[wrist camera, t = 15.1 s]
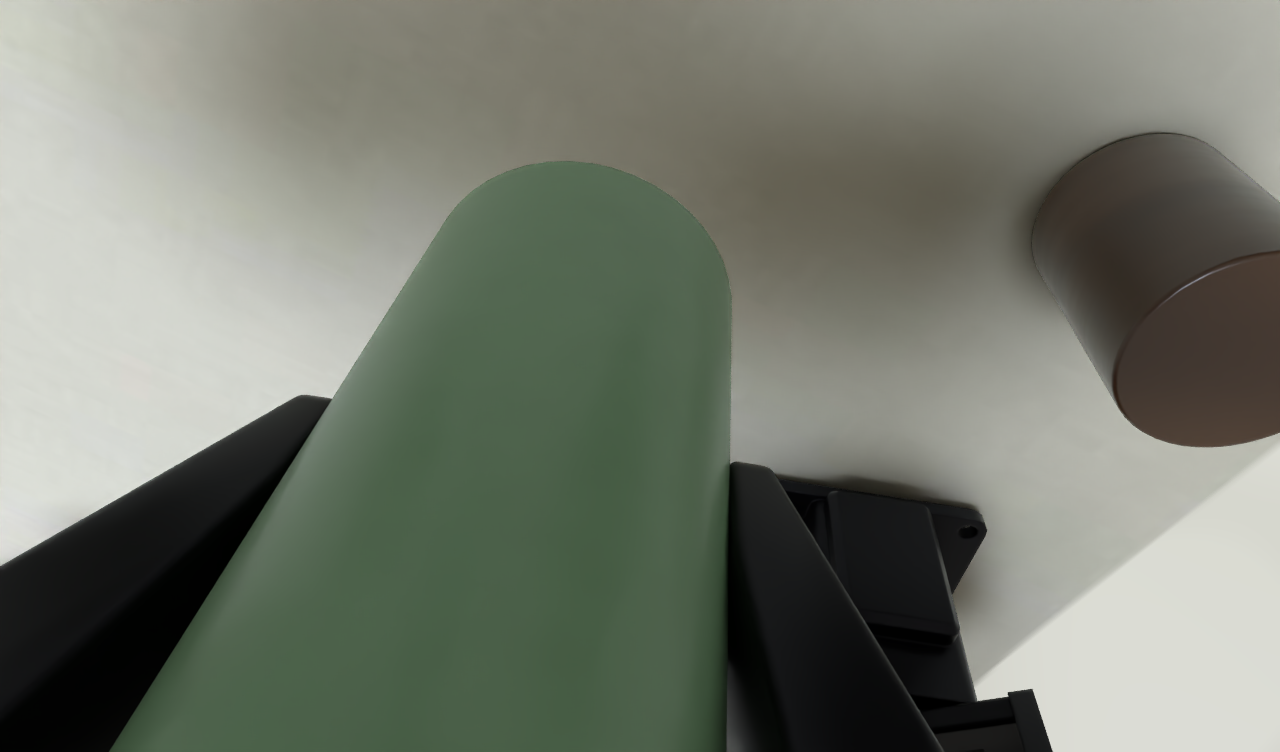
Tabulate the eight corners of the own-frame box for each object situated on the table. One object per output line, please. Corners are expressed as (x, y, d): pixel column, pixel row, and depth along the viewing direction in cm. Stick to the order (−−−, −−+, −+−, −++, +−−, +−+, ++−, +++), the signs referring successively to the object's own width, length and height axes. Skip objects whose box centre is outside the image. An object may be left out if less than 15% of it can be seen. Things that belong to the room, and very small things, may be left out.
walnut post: (1174, 315, 19) (1290, 465, 15) (1001, 288, 19) (1072, 430, 15) (1277, 149, 17) (1449, 274, 13) (1080, 118, 17) (1189, 233, 13)
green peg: (704, 439, 12) (638, 1742, 4) (434, 397, 12) (-145, 1616, 4) (761, 187, 10) (861, 2131, 2) (424, 134, 10) (-989, 1831, 2)
